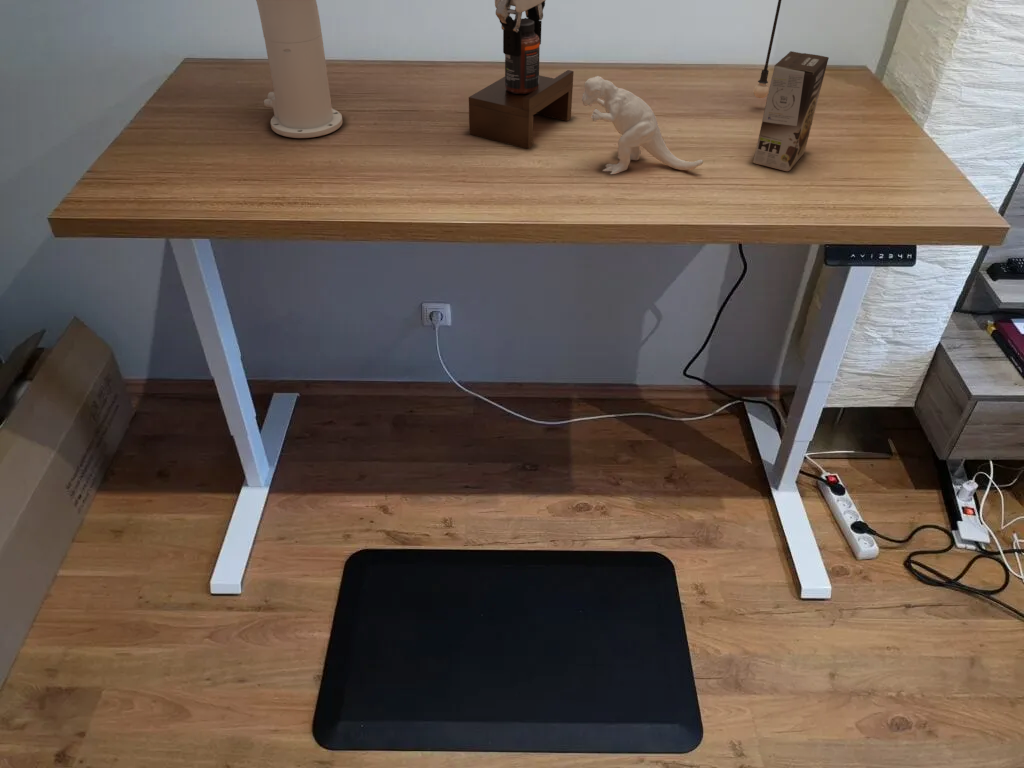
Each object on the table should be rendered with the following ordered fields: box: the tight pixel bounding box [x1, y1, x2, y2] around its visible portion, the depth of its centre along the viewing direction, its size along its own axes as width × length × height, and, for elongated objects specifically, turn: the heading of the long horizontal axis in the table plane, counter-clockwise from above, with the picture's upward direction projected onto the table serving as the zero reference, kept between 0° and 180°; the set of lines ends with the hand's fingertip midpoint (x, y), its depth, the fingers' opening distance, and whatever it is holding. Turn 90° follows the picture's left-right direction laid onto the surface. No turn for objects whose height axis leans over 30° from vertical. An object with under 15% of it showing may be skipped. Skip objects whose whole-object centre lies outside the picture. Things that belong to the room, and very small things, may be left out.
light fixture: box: [753, 0, 782, 99], centre depth 145 cm, size 7×7×25 cm
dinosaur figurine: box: [581, 75, 704, 175], centre depth 128 cm, size 20×10×15 cm, turn 79°
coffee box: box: [752, 50, 829, 172], centre depth 130 cm, size 9×6×16 cm
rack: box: [468, 69, 574, 150], centre depth 142 cm, size 12×16×9 cm
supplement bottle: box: [504, 18, 541, 94], centre depth 137 cm, size 6×6×11 cm
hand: (522, 48), depth 137 cm, fingers closed on supplement bottle, 6 cm apart
